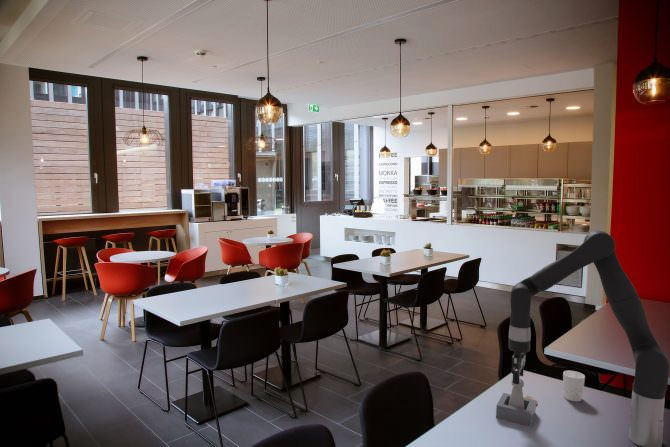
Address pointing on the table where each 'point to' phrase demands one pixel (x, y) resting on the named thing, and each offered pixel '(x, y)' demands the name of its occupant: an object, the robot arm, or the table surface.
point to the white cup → (573, 385)
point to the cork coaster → (529, 398)
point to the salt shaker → (517, 395)
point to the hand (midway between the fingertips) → (518, 379)
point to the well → (516, 411)
